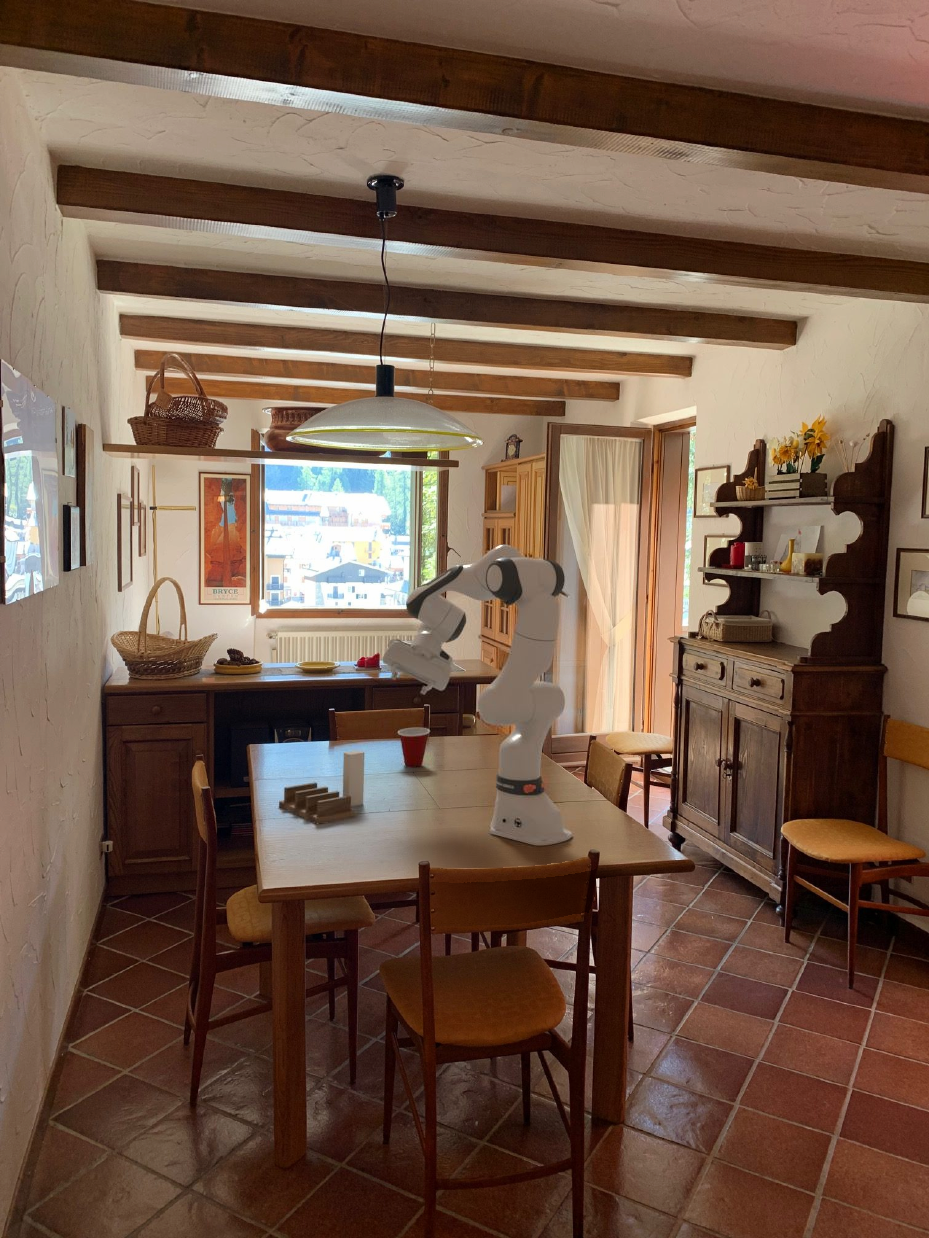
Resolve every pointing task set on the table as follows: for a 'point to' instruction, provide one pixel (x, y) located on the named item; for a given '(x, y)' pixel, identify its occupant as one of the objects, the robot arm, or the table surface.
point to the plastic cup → (413, 745)
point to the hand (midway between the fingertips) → (408, 685)
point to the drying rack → (316, 803)
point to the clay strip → (353, 776)
